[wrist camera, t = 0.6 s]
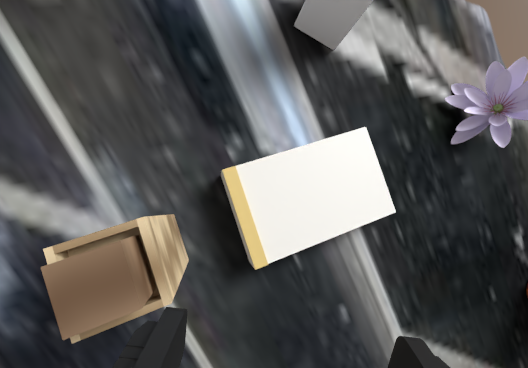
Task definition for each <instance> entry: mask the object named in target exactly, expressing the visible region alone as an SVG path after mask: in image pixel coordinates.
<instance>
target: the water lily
mask: <svg viewBox="0 0 528 368" xmlns="http://www.w3.org/2000/svg"><path fill="white" fill-rule="evenodd" d="M527 72H528V60H527V58H526V57H522V58H520V59H518V60H517V61H515V62H514V63H513V64H512V65H511V66H510V67H509V68H508V69H504V67H503V66H502V65H501V64H500V63H499V62H497V61H494V62H493V63H492V64H491V65H490V66H489V68H488V70H487V73H486V91H487V93H488V95H487V94H486V93H484V92H483V91H482V90H480V89H478V88H476V87H474V86H472V85H469V84H464V83H456V84H452V85H451V86H452V88H451V90H452V92H453V93H454V94H455V95H452V96H448V97H446V98H445V100H446V101H447V102H448V103H449V104H451V105H453V106H455V107H457V108H460V109H464V111H465V112H467V113H470V114H473V116H471V117H469V118H467V119H465V120H463V121H462V122H461V123H459V124H458V126H457V127H456V131H457V132H456V133H455V134H454V136H453V137H452V139H451V144H458V143H462V142H464V141H467V140H469V139H471V138H472V137H474V136H475V135H477V134H479V133H480V132H481V131H483V130H484V129H485V128H486V127H487V126H488V125H489V124H490V131H491V135H492V138H493V140H494V141H495V143H496V144H497V145H498V146H500V147H502V148H504V147H505V146H506V145H507V144H508V143H509V141H510V139H511V128H510V125H509V123H508V122H507V117H506V116H508V117H511V118H514V119H519V120H528V81H527V82H525V83H524V84H523V85H522V83H523V81H524V79H525V77H526V74H527ZM501 113H502V114H501ZM503 114H504V115H503ZM505 115H506V116H505Z"/></svg>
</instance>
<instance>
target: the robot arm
mask: <svg viewBox="0 0 528 368" xmlns="http://www.w3.org/2000/svg"><path fill="white" fill-rule="evenodd" d="M186 323H187V309H180V308H172V307H166V309H165V310H164V312H163V314H162V316H161V317H160V319H159V321H158V322H155V321H147V322H146V323H145V324H143V325H142V326H141V327H140V328H139V329H137V330H136V331H135V332H134V334H133V336H132V337H131V339H130V340H129V342H128V344H127V346H126V348H124V350H123V352H122V353H121V355H120V356H119V359H118V360H117V361H116V363H115V364H114V366H113V368H179V366H180V363H181V359H182V356H183V351H184V346H185V336H186ZM388 368H450V367H449V366H448V365H447V364H446V363H444V362H443V361H442V360H441V359H440V358H439V357H438V356H434V354H433V353H432V352H431V350H430V349H429V347H428V346H427V345H426V343H425V342H424V341H423V340H422V339H420V338H412V337H404V336H399V337H398V338H397V339H396V342H395V345H394V349H393V352H392V355H391V358H390V362H389V365H388Z"/></svg>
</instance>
